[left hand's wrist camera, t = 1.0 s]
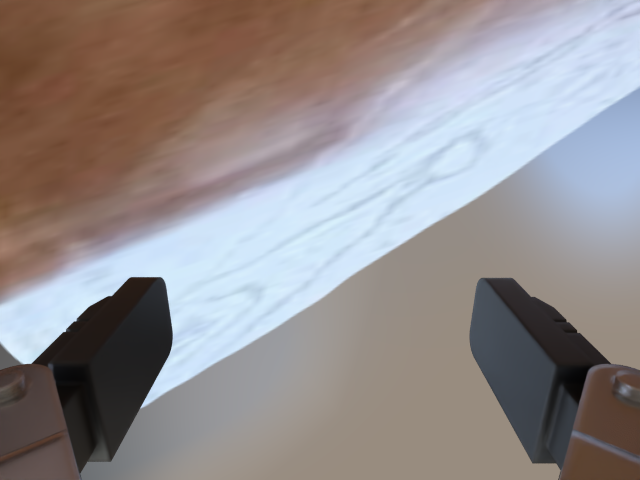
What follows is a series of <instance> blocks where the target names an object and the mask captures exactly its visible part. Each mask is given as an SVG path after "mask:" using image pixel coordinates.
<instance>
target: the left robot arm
mask: <svg viewBox="0 0 640 480" xmlns="http://www.w3.org/2000/svg"><path fill="white" fill-rule="evenodd" d="M172 339H173V332H172V324H171V317H170V310H169V304H168V297H167V290H166V285H165V282H164V280H163V279H162V278H161V277H131V278H129V279H128V280H127V281H126V282H125V283H124V284H123V285H122V286H121V287H120V288H119V289H118V290H117V291H116V292H115V294H114V295H113V296H108V297H106V298H104V299H102V300H100V301H99V302H97V303H95V304H93V305H91V306H90V307H88V308H87V309H86V310H85V311H84V312H83V313H82V314H81V315H80V316H79V317H78V318H77V321H76V322H73V323H72V324H71V325H70V326H69V327H68V328H67V329H66V332H63V333H62V334H61V335H60V336H59V337H58V338H57V339H56V340H55V341H54V342H53V343H52V344H51V345H50V346H49V347H48V348H47V349H46V350H45V351H44V352H43V353H42V354H41V355H40V356H39V357H38V358H37V359H36V360H35V361H34V362H33V363H32V364H24V365H17V366H12V367H9V368H5V369H2V370H0V480H82V479H81V475H80V473H81V471H82V470H83V468H84V466H85V465H86V463H87V462H111V461H112V459H113V457H114V455H115V453H116V451H117V450H118V448H119V446H120V444H121V442H122V440H123V439H124V437H125V435H126V433H127V431H128V429H129V428H130V426H131V424H132V422H133V420H134V418H135V416H136V415H137V413H138V411H139V409H140V407H141V406H142V404H143V402H144V400H145V398H146V396H147V395H148V393H149V391H150V389H151V387H152V385H153V384H154V382H155V380H156V378H157V376H158V374H159V373H160V371H161V369H162V367H163V365H164V363H165V362H166V360H167V358H168V356H169V354H170V351H171V347H172ZM470 346H471V351H472V354H473V356H474V358H475V360H476V362H477V364H478V365H479V367H480V369H481V371H482V373H483V374H484V376H485V378H486V380H487V382H488V383H489V385H490V387H491V389H492V391H493V393H494V394H495V396H496V398H497V400H498V402H499V403H500V405H501V407H502V409H503V411H504V412H505V414H506V416H507V418H508V420H509V422H510V423H511V425H512V427H513V429H514V431H515V432H516V434H517V436H518V438H519V440H520V441H521V443H522V445H523V447H524V449H525V450H526V452H527V454H528V456H529V458H530V459H531V461H532V463H557V465H558V467H559V468H560V470H561V472H560V475H559V479H558V480H640V370H638V369H635V368H631V367H628V366H623V365H616V364H611V363H610V362H609V361H608V360H607V359H606V358H605V357H604V356H603V355H602V354H601V353H600V352H599V351H598V350H597V349H596V348H595V347H593V345H591V344H590V343H589V342H588V341H587V340H586V339H585V338H584V337H583V336H582V335H581V334H580V333H577V330H576V329H575V328H574V327H573V326H572V325H571V324H570V323H569V322H566V319H565V318H564V317H563V316H562V315H561V314H560V313H559V312H558V311H557V310H556V309H555V308H554V307H552V306H550V305H548V304H546V303H545V302H543V301H541V300H539V299H537V298H536V297H530V295H529V294H528V293H527V292H526V291H525V290H524V289H523V288H522V287H521V286H520V285H519V284H518V283H517V282H516V281H515V280H514V279H513V278H481V279H480V280H479V281H478V283H477V287H476V293H475V300H474V307H473V313H472V320H471V327H470Z"/></svg>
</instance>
